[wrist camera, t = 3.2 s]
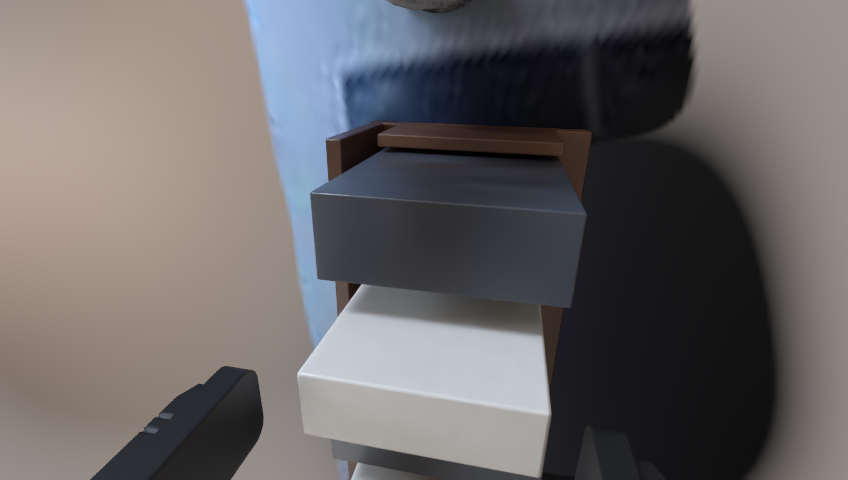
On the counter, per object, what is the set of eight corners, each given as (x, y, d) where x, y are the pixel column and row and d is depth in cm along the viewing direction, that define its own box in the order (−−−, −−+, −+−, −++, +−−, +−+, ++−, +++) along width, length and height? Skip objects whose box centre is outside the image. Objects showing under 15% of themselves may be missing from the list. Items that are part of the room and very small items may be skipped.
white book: (532, 226, 20) (552, 414, 9) (528, 264, 21) (541, 480, 10) (409, 216, 21) (295, 373, 10) (409, 253, 22) (302, 435, 11)
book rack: (590, 129, 19) (712, 226, 7) (533, 476, 27) (547, 787, 15) (374, 120, 20) (186, 185, 9) (382, 447, 29) (290, 707, 17)
